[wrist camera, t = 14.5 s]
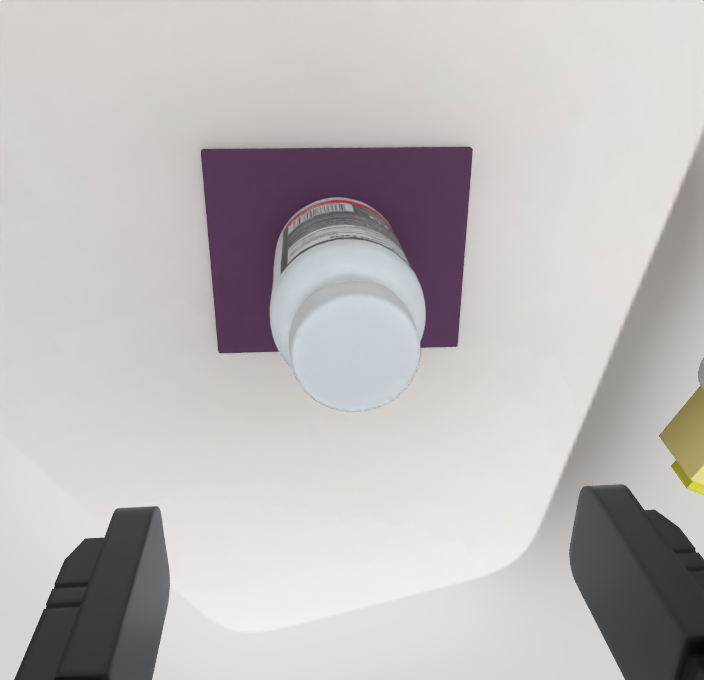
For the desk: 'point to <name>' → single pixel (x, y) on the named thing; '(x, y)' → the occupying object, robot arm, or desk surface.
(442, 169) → the mat
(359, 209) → the pill bottle
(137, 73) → the desk surface
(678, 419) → the toy
